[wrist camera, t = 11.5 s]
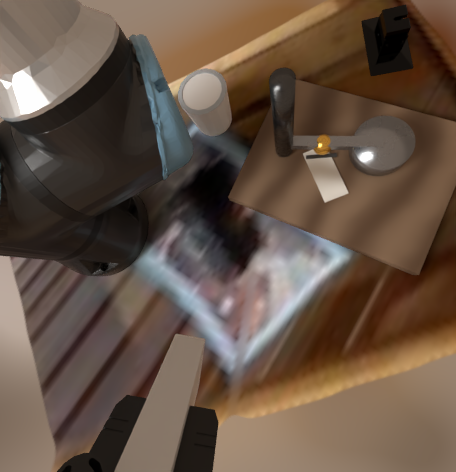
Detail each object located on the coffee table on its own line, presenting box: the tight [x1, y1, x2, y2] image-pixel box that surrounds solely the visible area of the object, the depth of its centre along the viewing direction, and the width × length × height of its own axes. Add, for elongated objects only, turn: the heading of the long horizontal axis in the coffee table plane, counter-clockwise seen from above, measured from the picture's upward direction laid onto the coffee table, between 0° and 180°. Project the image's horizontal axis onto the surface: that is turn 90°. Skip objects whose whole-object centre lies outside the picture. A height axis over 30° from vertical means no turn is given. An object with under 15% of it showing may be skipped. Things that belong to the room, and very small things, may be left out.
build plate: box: [362, 5, 413, 76], centre depth 39 cm, size 12×7×5 cm, turn 4°
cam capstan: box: [269, 68, 415, 176], centre depth 31 cm, size 17×7×14 cm, turn 84°
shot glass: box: [178, 69, 232, 136], centre depth 41 cm, size 7×7×7 cm
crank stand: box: [228, 79, 456, 275], centre depth 38 cm, size 26×20×2 cm
